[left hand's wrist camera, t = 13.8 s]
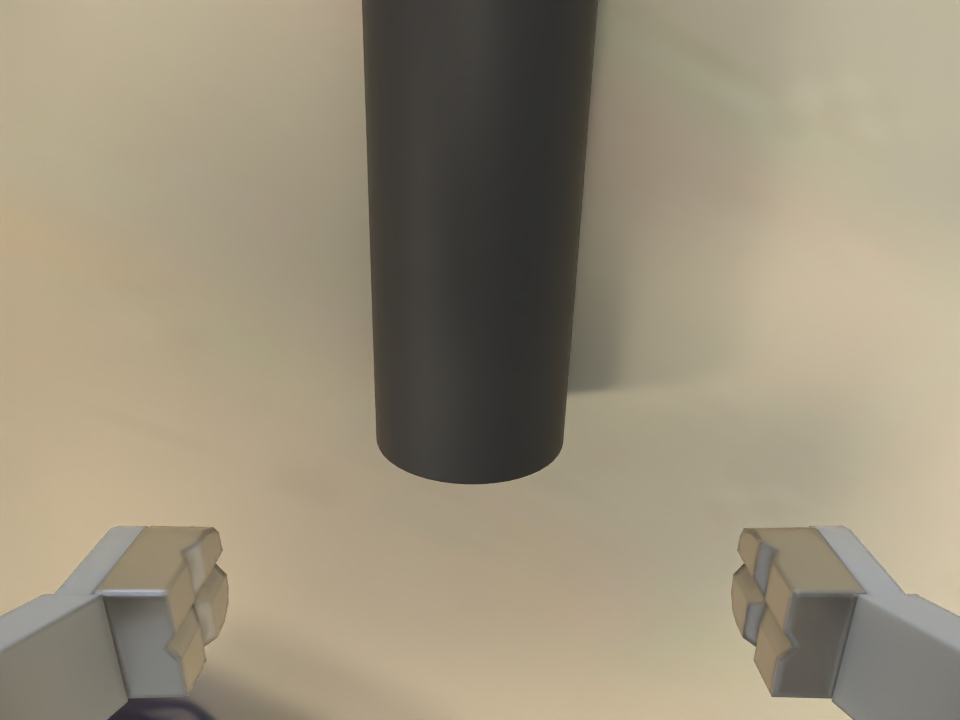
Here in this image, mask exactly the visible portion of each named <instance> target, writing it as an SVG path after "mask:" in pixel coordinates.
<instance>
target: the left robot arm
mask: <svg viewBox="0 0 960 720" xmlns="http://www.w3.org/2000/svg"><path fill="white" fill-rule="evenodd" d="M222 551H223V550H222V545H221V540H220V535H219V532H218V531H217V530H216V529H215V528H213V527H173V526H150V527H148V526H118V527H115V528H112V529H110V530H109V531H108V532H107V533H106V535H105V536H104V537H103V538H102V539H101V540H100V542H99V543H98V544H97V545H96V546H95V547H94V548H93V550H92V551H91V552H90V553H89V554H88V555H87V557H86V558H85V559H84V560H83V561H82V562H81V563H80V565H79V566H78V567H77V568H76V569H75V570H74V572H73V573H72V574H71V575H70V576H69V577H68V578H67V580H66V581H65V582H64V583H63V584H62V585H61V587H60V588H59V589H58V590H57V591H56V592H55V594H51V595H41V596H39V597H37V598H35V599H33V600H31V601H30V602H28V603H26V604H24V605H22V606H20V607H18V608H16V609H14V610H12V611H10V612H8V613H6V614H4V615H2V616H0V720H107V719H108V718H110V717H111V716H112V715H113V714H114V713H115V712H117V711H118V710H119V709H120V708H121V707H122V706H124V705H125V704H126V703H127V702H128V699H127V698H162V697H188V696H189V694H190V692H191V690H192V688H193V686H194V684H195V682H196V680H197V678H198V676H199V674H200V672H201V670H202V668H203V666H204V664H205V662H206V656H205V650H204V647H205V646H206V645H207V644H209V643H210V642H212V641H213V640H214V639H216V638H217V637H218V635H219V633H220V631H221V628H222V626H223V624H224V621H225V617H226V612H227V607H228V595H229V587H228V581H227V574H226V573H225V572H224V571H223V570H222V569H221V568H220V567H219V566H218V565H217V564H216V562H217V560H218V558H219V556H220V554H221V553H222ZM737 551H738V553H739V554H740V556H741V558H742V560H743V562H744V564H743V565H742V566H741V567H740V568H739V569H738V570H737V571H736V572H735V573H734V574H733V582H732V590H731V597H732V609H733V614H734V617H735V621H736V624H737V626H738V629H739V631H740V633H741V635H742V637H743V638H744V639H746V640H747V641H748V642H750V643H751V644H753V645H754V646H755V647H756V650H755V656H754V662H755V664H756V666H757V668H758V670H759V672H760V674H761V676H762V678H763V680H764V682H765V684H766V686H767V688H768V690H769V692H770V694H771V696H772V697H797V698H832V702H833V703H834V704H836V705H837V706H838V707H839V708H840V709H841V710H843V711H844V712H845V713H846V714H847V715H848V716H850V717H851V718H852V719H853V720H960V616H958V615H956V614H954V613H952V612H950V611H948V610H946V609H944V608H942V607H940V606H938V605H936V604H934V603H932V602H930V601H929V600H927V599H925V598H923V597H921V596H919V595H909V594H905V592H904V591H903V590H902V589H901V588H900V587H899V585H898V584H897V583H896V582H895V581H894V580H893V579H892V577H891V576H890V575H889V574H888V573H887V572H886V570H885V569H884V568H883V567H882V566H881V565H880V564H879V562H878V561H877V560H876V559H875V558H874V557H873V555H872V554H871V553H870V552H869V551H868V550H867V548H866V547H865V546H864V545H863V544H862V543H861V542H860V540H859V539H858V538H857V537H856V536H855V535H854V533H853V532H852V531H851V530H850V529H848V528H846V527H844V526H842V525H841V526H810V527H794V528H744V529H743V531H742V533H741V535H740V539H739V544H738V550H737Z"/></svg>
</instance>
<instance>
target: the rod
mask: <svg viewBox="0 0 960 720" xmlns="http://www.w3.org/2000/svg"><path fill="white" fill-rule="evenodd" d="M597 4H598V0H362V12H363V43H364V73H365V104H366V134H367V164H368V195H369V225H370V256H371V286H372V316H373V347H374V377H375V408H376V437H377V444H378V446H379V449H380V451H381V452H382V454H383V455H384V456H385V457H386V458H387V459H388V460H389V461H390V462H391V463H393V464H394V465H396V466H397V467H399V468H401V469H403V470H405V471H407V472H409V473H412V474H414V475H417V476H420V477H423V478H427V479H431V480H435V481H440V482H447V483H456V484H489V483H498V482H505V481H510V480H514V479H519V478H522V477H525V476H528V475H531V474H533V473H535V472H537V471H540V470H541V469H543V468H544V467H546V466H548V465H549V464H550V463H551V462H552V461H554V459H555V458H556V457H557V456H558V454H559V453H560V451H561V449H562V445H563V437H564V424H565V411H566V398H567V386H568V373H569V360H570V347H571V335H572V322H573V309H574V296H575V284H576V271H577V258H578V246H579V233H580V220H581V207H582V195H583V182H584V169H585V156H586V144H587V131H588V118H589V105H590V93H591V80H592V67H593V55H594V42H595V29H596V16H597Z"/></svg>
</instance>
